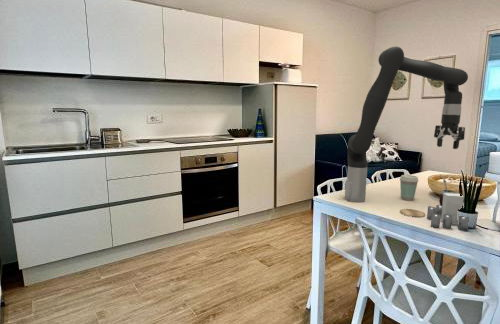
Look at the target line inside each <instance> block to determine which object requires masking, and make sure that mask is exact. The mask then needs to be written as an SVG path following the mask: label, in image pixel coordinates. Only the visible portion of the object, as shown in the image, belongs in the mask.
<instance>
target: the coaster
mask: <svg viewBox="0 0 500 324" xmlns="http://www.w3.org/2000/svg"><path fill="white" fill-rule="evenodd" d="M399 213H400V214H401V215H403V214H404V215H403V216H405V215H407V216H406V217H409V216H412V217H411V218H424V217H425V216H426V213H425V211H421V210H419V209H412V208H402V209H400V210H399Z"/></svg>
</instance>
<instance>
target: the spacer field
mask: <svg viewBox="0 0 500 324" xmlns="http://www.w3.org/2000/svg"><path fill="white" fill-rule="evenodd" d="M426 214H427V215H426V219H427V220H429V221H430V228H432V227H433V229H440V226H441V228H442V227H443V229H444V230H445V229H446V230H451V229H452V217H453V216H452V215H449V214H444V215H443V222H441V214H442V205H440V204H437V205H435V206H430V205H429V206H427V212H426ZM468 222H469V217H468V216H467V217H464V216H459V225H457V230H459V231H462V232H468V230H469V228H468ZM477 222H478V217H477V218H476V221H475V223H474V226H473V229H472V230H475V229H477ZM441 223H442V225H441Z"/></svg>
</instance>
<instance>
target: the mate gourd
mask: <svg viewBox="0 0 500 324" xmlns="http://www.w3.org/2000/svg"><path fill="white" fill-rule="evenodd" d="M439 176H440V177H441V178H442V181H443V182H444V187H445V189H443V190H441V191H440V194H439V205H442V204H443V193H453V194H458V193H457V192H456V191H455V190H451V189H448V187H447V182H446V179H445V177H444V176H443V175H442V174H439Z"/></svg>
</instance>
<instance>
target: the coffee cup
mask: <svg viewBox="0 0 500 324" xmlns="http://www.w3.org/2000/svg"><path fill="white" fill-rule="evenodd" d="M399 180H400V182H399V183H400V199H401V200H403V201H408V202H413V201H414V200H415V199H414V198H415V196H416V190H417V186H418V182H419V178H418V176H416V175H412V174H401V176H400V178H399Z"/></svg>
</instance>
